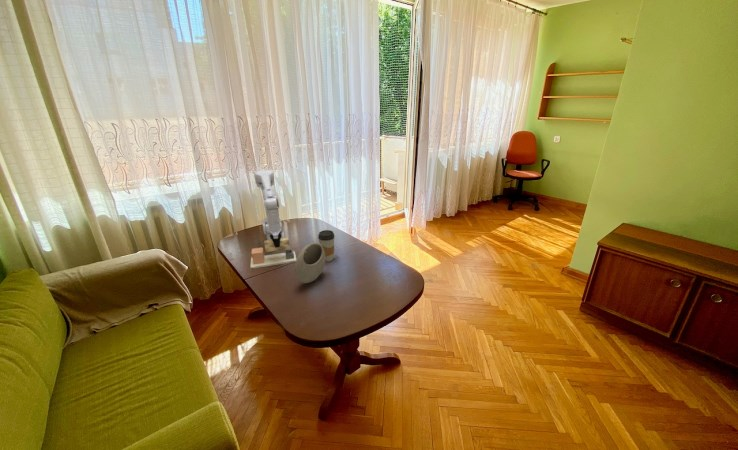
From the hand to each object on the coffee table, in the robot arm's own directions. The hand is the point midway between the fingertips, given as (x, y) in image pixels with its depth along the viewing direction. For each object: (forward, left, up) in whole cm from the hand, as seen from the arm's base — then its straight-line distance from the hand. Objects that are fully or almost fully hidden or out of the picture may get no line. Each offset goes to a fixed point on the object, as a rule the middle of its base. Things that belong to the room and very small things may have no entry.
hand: (277, 245), depth 152 cm
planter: (-14, +25, -9) cm, 30 cm away
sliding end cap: (+10, 0, -7) cm, 12 cm away
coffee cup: (-25, +7, -9) cm, 27 cm away
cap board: (+3, 0, -8) cm, 9 cm away
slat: (0, 0, -2) cm, 2 cm away
